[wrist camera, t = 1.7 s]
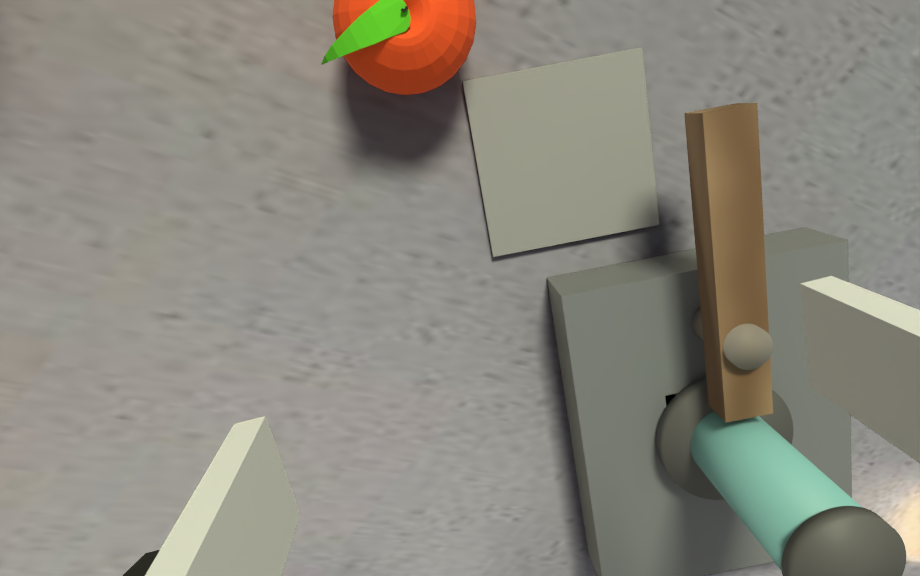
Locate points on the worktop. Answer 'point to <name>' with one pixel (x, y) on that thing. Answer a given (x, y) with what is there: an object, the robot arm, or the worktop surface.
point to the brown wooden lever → (730, 259)
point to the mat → (563, 151)
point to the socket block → (667, 372)
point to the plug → (774, 489)
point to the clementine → (403, 41)
